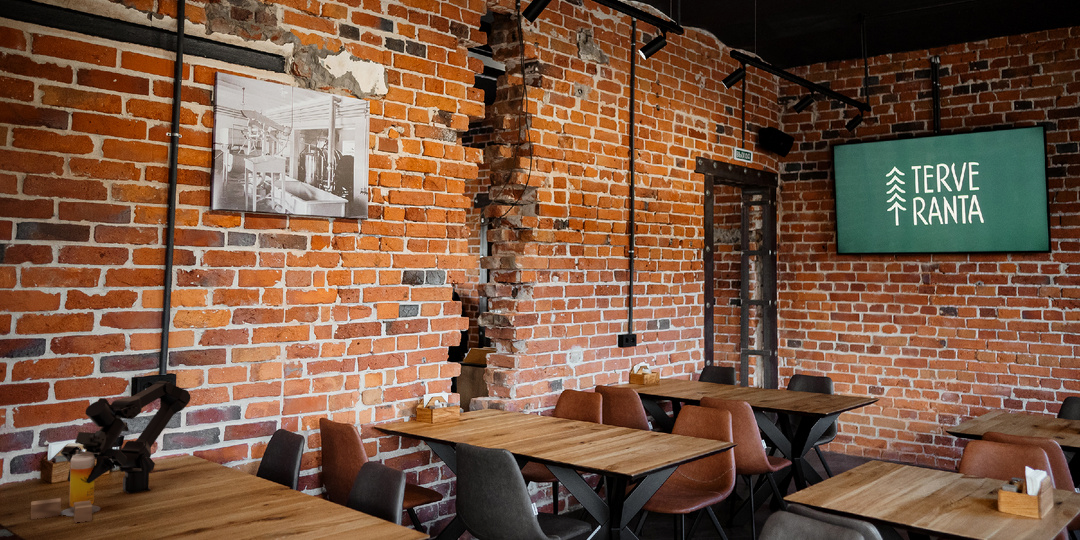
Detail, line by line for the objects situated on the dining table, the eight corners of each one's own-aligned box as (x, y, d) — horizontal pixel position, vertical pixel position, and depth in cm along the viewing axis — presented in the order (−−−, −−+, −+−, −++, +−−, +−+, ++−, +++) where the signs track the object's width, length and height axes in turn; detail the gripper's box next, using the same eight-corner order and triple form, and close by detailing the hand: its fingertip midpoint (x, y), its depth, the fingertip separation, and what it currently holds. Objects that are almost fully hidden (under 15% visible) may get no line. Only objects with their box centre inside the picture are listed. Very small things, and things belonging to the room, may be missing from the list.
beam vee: (64, 503, 228) (65, 490, 229) (122, 508, 225) (123, 494, 225) (22, 518, 214) (22, 504, 214) (83, 523, 210) (84, 509, 210)
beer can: (91, 508, 220) (93, 456, 221) (67, 510, 218) (68, 458, 218) (95, 502, 226) (96, 452, 226) (71, 504, 224) (72, 453, 224)
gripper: (66, 418, 228) (34, 464, 217) (120, 422, 224) (91, 468, 213) (86, 439, 235) (56, 485, 225) (139, 443, 232) (111, 489, 221)
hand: (78, 481), depth 221 cm, fingers closed on beer can, 6 cm apart
